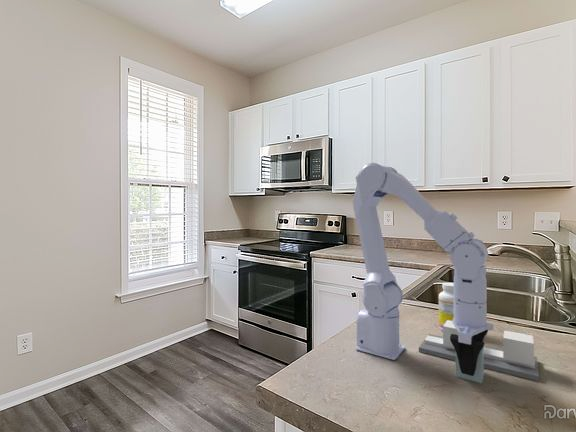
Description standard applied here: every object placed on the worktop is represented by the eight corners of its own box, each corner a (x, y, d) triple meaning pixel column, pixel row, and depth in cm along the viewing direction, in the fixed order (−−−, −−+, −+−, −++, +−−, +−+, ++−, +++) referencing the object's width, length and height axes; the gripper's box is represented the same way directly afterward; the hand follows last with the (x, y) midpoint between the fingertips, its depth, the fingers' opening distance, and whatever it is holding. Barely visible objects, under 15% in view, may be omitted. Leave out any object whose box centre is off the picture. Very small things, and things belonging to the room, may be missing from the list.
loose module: (455, 376, 62) (455, 346, 62) (458, 368, 65) (458, 339, 65) (482, 383, 59) (481, 352, 59) (484, 374, 63) (483, 345, 63)
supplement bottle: (457, 325, 89) (456, 281, 89) (471, 335, 83) (471, 286, 82) (434, 326, 89) (434, 281, 89) (446, 335, 82) (446, 287, 82)
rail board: (418, 351, 73) (418, 325, 73) (428, 337, 81) (428, 313, 81) (539, 381, 60) (539, 349, 60) (536, 361, 68) (536, 332, 68)
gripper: (490, 313, 54) (490, 390, 54) (496, 294, 66) (496, 358, 66) (445, 306, 58) (446, 377, 58) (458, 290, 70) (458, 350, 70)
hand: (469, 367), depth 62 cm, fingers open, 6 cm apart
